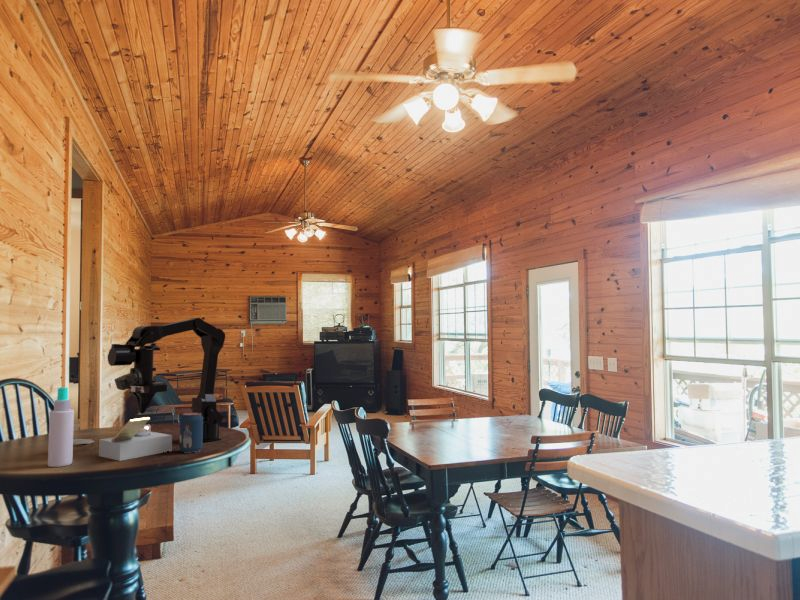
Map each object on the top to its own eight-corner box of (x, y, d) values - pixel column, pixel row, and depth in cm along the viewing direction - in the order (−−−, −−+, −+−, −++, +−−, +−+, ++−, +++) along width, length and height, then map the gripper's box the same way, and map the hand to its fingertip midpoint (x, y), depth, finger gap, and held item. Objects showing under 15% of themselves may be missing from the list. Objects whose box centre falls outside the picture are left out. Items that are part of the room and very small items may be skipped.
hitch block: (150, 446, 184) (150, 428, 185) (171, 450, 177) (172, 432, 178) (98, 455, 170) (99, 436, 171) (119, 460, 163) (120, 440, 164)
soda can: (199, 448, 182) (200, 411, 182) (204, 451, 176) (205, 413, 177) (177, 450, 178) (178, 413, 179) (181, 454, 172) (182, 415, 173)
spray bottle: (76, 462, 161) (79, 386, 163) (63, 467, 155) (66, 388, 157) (56, 462, 161) (59, 386, 163) (42, 467, 155) (45, 388, 157)
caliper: (52, 455, 173) (52, 435, 173) (48, 455, 173) (49, 434, 173) (94, 442, 193) (95, 424, 193) (91, 442, 193) (92, 424, 194)
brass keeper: (132, 437, 171) (132, 435, 171) (150, 418, 166) (149, 417, 166) (113, 440, 166) (113, 438, 166) (130, 421, 161) (130, 419, 161)
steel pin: (144, 448, 181) (145, 424, 181) (153, 449, 178) (153, 425, 179) (129, 450, 177) (130, 426, 177) (138, 452, 174) (139, 427, 174)
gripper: (103, 364, 178) (101, 413, 177) (135, 366, 167) (133, 418, 166) (136, 363, 187) (135, 410, 186) (169, 365, 176) (167, 414, 175)
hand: (142, 413), depth 178 cm, fingers closed
